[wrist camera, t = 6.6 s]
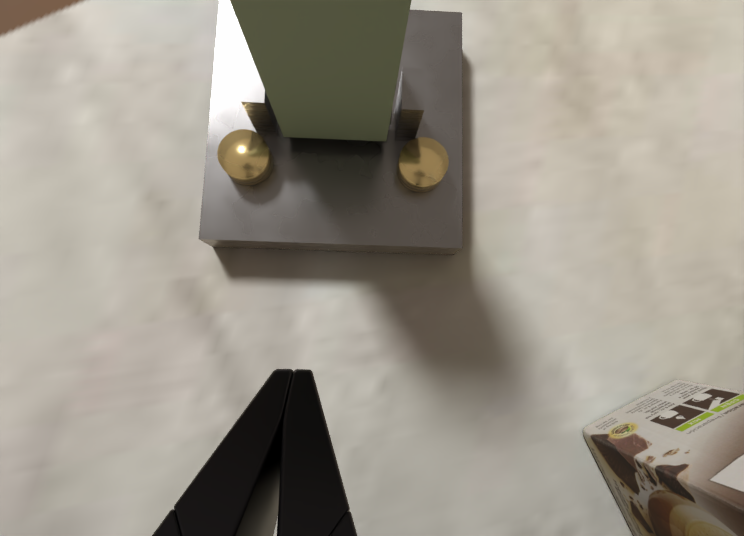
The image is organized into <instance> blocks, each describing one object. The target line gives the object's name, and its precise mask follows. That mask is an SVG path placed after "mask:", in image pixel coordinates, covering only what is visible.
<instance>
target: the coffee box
mask: <svg viewBox="0 0 744 536" xmlns="http://www.w3.org/2000/svg"><path fill="white" fill-rule="evenodd" d="M583 435H584V437H585V439H586V442H587V444H588V446H589V448H590V450H591V452H592V454H593V456H594V457H595V459H596V461H597V463H598V465H599V467H600V469H601V471H602V473H603V475H604V477H605V479H606V481H607V483H608V485H609V487H610V489H611V491H612V493H613V495H614V497H615V499H616V501H617V503H618V505H619V507H620V509H621V511H622V513H623V515H624V517H625V519H626V521H627V523H628V525H629V527H630V529H631V531H632V533H633V535H634V536H744V391H736V390H731V389H726V388H721V387H715V386H710V385H704V384H699V383H693V382H689V381H683V380H675V381H673V382H671V383H669V384H667V385H665V386H663V387H661V388H659V389H657V390H655V391H653V392H651V393H649V394H647V395H645V396H643V397H641V398H639V399H637V400H636V401H634V402H632V403H630V404H628V405H626V406H624V407H622V408H620V409H618V410H616V411H614V412H612V413H610V414H608V415H607V416H605V417H603V418H601V419H599V420H597V421H595V422H593V423H592V424H590V425H588V426H586V427H585V428H584V430H583Z"/></svg>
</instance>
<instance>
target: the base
mask: <svg viewBox="0 0 744 536" xmlns="http://www.w3.org/2000/svg"><path fill="white" fill-rule="evenodd" d="M199 239H200V240H201V241H203V242H205V243H207V244H209V245H210V246H212V247H236V248H265V249H294V250H323V251H352V252H381V253H410V254H439V255H454V254H455V253H457V252H458V251H459V250H461V249H462V13H460V12H442V11H424V10H410V11H409V16H408V22H407V28H406V33H405V39H404V44H403V50H402V56H401V61H400V67H399V73H398V78H397V84H396V90H395V95H394V101H393V107H392V118H391V125H389V129H388V135H387V140H386V141H365V140H342V139H319V138H296V137H283V134H282V132H281V129H280V126H279V124H278V121H277V119H276V116H275V114H274V111H273V109H272V106H271V104H270V101H269V99H268V96H267V94H266V91H265V88H264V86H263V83H262V81H261V78H260V76H259V73H258V71H257V68H256V66H255V63H254V61H253V58H252V56H251V53H250V51H249V48H248V45H247V43H246V40H245V38H244V35H243V33H242V30H241V28H240V25H239V23H238V20H237V18H236V15H235V13H234V10H233V7H232V5H231V2H230V0H219V10H218V22H217V34H216V45H215V57H214V68H213V80H212V92H211V103H210V115H209V126H208V138H207V150H206V161H205V173H204V184H203V196H202V208H201V219H200V231H199Z"/></svg>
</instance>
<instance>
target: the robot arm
mask: <svg viewBox="0 0 744 536" xmlns="http://www.w3.org/2000/svg"><path fill="white" fill-rule="evenodd" d="M174 509H175V510H174ZM174 509H172V510H171V511H170V512H169V513H168V515H167V516H166V517H165V519H164V520H163V522H162V523H161V524H160V526H159V527H158V528H157V530H156V531H155V532H154V534H153V535H152V536H273V534H274V529H275V525H276V521H277V516H278V526H277V536H357V533H356V529H355V526H354V522H353V518H352V515H351V512H349V509H350V508H349V504H348V501H347V497H346V493H345V490H344V486H343V482H342V479H341V475H340V471H339V468H338V464H337V460H336V457H335V453H334V449H333V446H332V442H331V438H330V435H329V431H328V427H327V424H326V420H325V416H324V413H323V409H322V405H321V402H320V398H319V394H318V391H317V387H316V383H315V380H314V376H313V373H312V371H311V370H303V369H297V370H294V372H293V370H291V369H276V370H274V371H273V373H272V374H271V375H270V377H269V378H268V379H267V381H266V382H265V383H264V385H263V386H262V387H261V389H260V390H259V392H258V393H257V394H256V396H255V397H254V398H253V400H252V401H251V402H250V404H249V405H248V406H247V408H246V409H245V411H244V412H243V413H242V415H241V416H240V417H239V419H238V420H237V421H236V423H235V424H234V425H233V427H232V428H231V430H230V431H229V432H228V434H227V435H226V436H225V438H224V439H223V440H222V442H221V443H220V444H219V446H218V447H217V449H216V450H215V451H214V453H213V454H212V455H211V457H210V458H209V459H208V461H207V462H206V463H205V465H204V466H203V468H202V469H201V470H200V472H199V473H198V474H197V476H196V477H195V478H194V480H193V481H192V482H191V484H190V485H189V487H188V488H187V489H186V491H185V492H184V493H183V495H182V496H181V497H180V499H179V500H178V501H177V503H176V504H175V506H174Z"/></svg>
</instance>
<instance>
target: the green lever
mask: <svg viewBox="0 0 744 536" xmlns="http://www.w3.org/2000/svg"><path fill="white" fill-rule="evenodd" d="M230 2H231V5H232V7H233V10H234V13H235V15H236V18H237V20H238V23H239V25H240V28H241V30H242V33H243V35H244V38H245V40H246V43H247V45H248V48H249V51H250V53H251V56H252V58H253V61H254V63H255V66H256V68H257V71H258V73H259V76H260V78H261V81H262V83H263V86H264V88H265V91H266V94H267V96H268V99H269V101H270V104H271V106H272V109H273V111H274V114H275V116H276V119H277V121H278V124H279V126H280V129H281V132H282V134H283V137H296V138H319V139H342V140H365V141H386V140H387V135H388V129H389V125H391V118H392V107H393V101H394V95H395V90H396V84H397V78H398V73H399V67H400V61H401V56H402V50H403V44H404V39H405V33H406V28H407V22H408V16H409V11H410V5H411V0H230Z"/></svg>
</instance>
